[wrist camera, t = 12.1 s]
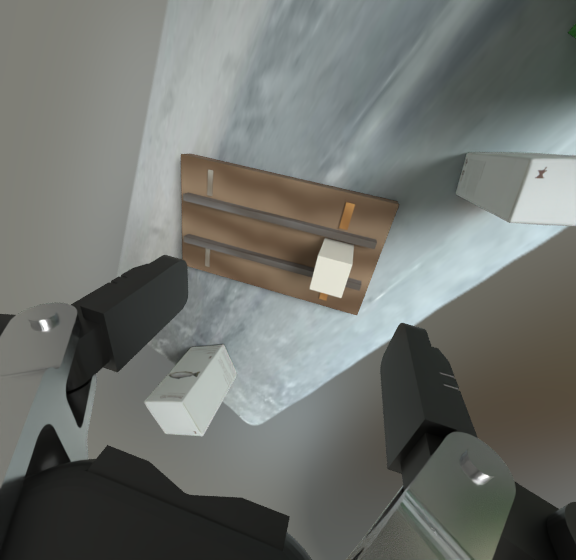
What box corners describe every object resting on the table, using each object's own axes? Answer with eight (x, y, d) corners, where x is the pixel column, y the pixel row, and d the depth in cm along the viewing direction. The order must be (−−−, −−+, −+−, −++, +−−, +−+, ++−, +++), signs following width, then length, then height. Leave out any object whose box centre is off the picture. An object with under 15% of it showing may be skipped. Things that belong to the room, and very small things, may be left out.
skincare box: (453, 195, 29) (505, 223, 18) (465, 151, 27) (531, 155, 17) (518, 198, 28) (612, 230, 17) (536, 152, 26) (654, 157, 15)
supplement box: (224, 342, 47) (182, 402, 36) (238, 374, 50) (203, 438, 39) (190, 345, 50) (141, 401, 39) (205, 375, 52) (164, 436, 41)
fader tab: (325, 237, 32) (318, 255, 27) (354, 244, 31) (352, 264, 26) (317, 267, 34) (309, 289, 29) (344, 274, 33) (341, 298, 28)
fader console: (190, 153, 34) (174, 154, 31) (397, 201, 30) (400, 206, 28) (190, 259, 41) (177, 267, 38) (357, 307, 38) (356, 320, 35)
